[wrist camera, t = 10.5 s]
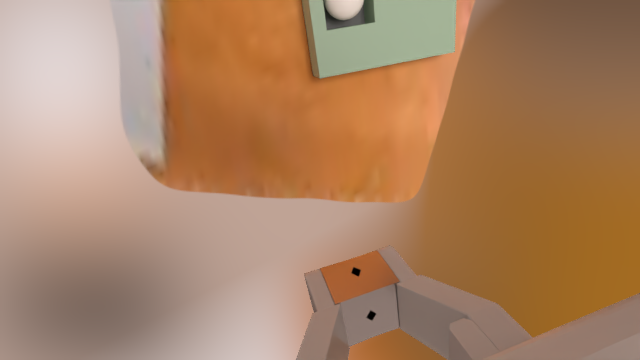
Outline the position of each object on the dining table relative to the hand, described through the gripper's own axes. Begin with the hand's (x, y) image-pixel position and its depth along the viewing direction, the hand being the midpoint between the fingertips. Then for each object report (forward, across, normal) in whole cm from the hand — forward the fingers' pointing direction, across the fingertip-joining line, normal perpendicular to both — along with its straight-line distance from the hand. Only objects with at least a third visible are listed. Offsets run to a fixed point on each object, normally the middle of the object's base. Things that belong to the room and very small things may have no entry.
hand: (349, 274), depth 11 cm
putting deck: (+29, -15, -9) cm, 34 cm away
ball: (+27, -11, -9) cm, 30 cm away
